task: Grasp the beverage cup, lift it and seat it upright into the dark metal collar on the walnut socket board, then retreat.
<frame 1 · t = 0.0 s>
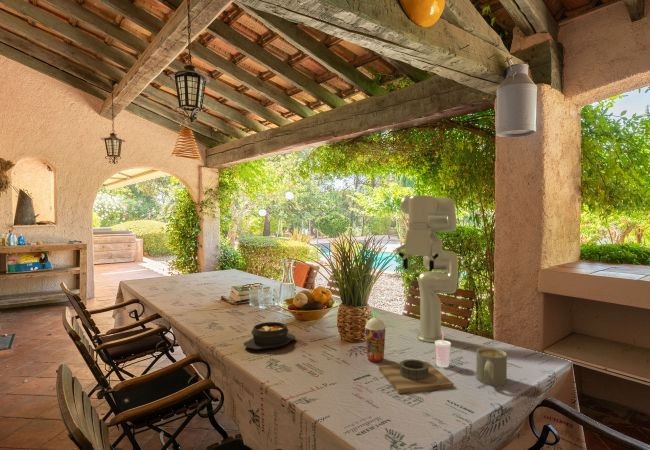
hand: (418, 270, 157), 37 cm above the table, tool pointing down, fingers open, 9 cm apart
smoothie: (375, 360, 162), on the table
coffee mug: (489, 381, 141), on the table
casserole: (270, 345, 181), on the table
socket board: (414, 378, 144), on the table
beverage cup: (442, 365, 156), on the table
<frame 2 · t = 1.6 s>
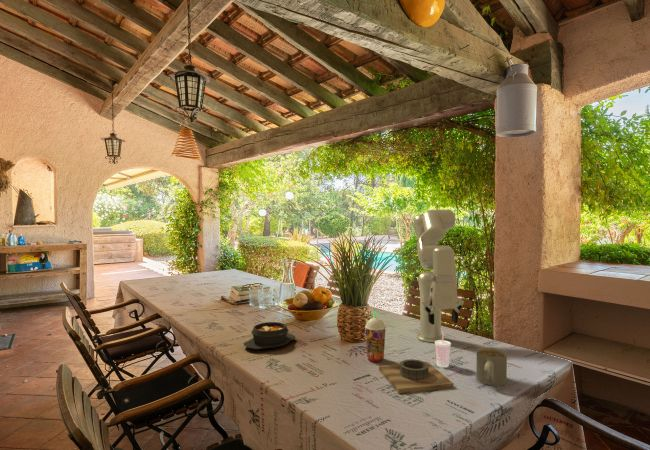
hand: (443, 322, 155), 17 cm above the table, tool pointing down, fingers open, 9 cm apart
nothing on the table moved.
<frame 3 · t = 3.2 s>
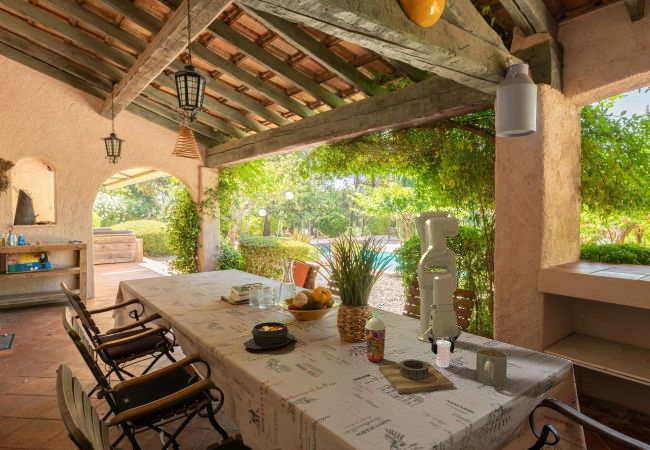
hand: (442, 352, 156), 5 cm above the table, tool pointing down, fingers closed on beverage cup, 6 cm apart
beverage cup: (442, 365, 156), on the table, touching gripper
everything else where it was.
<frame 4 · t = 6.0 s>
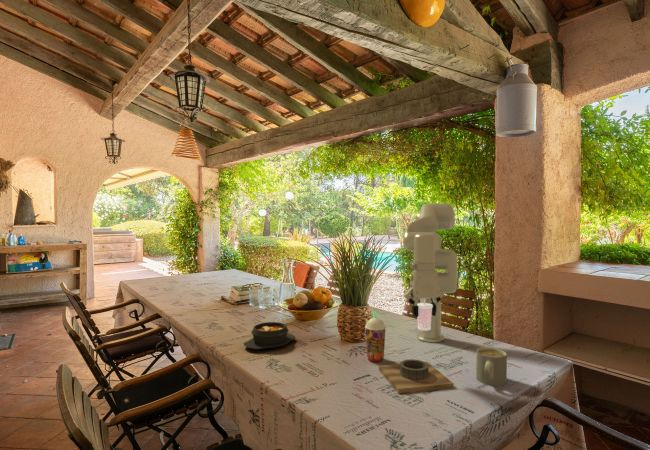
hand: (424, 315, 147), 22 cm above the table, tool pointing down, fingers closed on beverage cup, 6 cm apart
beverage cup: (424, 329, 147), point 17 cm above the table, touching gripper
everything else where it was.
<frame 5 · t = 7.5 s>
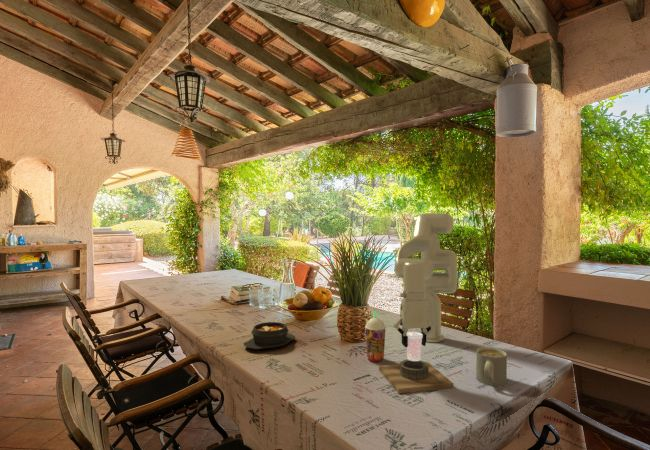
hand: (414, 344, 143), 12 cm above the table, tool pointing down, fingers closed on beverage cup, 6 cm apart
beverage cup: (414, 359, 143), point 7 cm above the table, touching gripper
everything else where it was.
when the fingers open (7 cm above the table, at t = 8.8 s): beverage cup stays where it is, resting on socket board.
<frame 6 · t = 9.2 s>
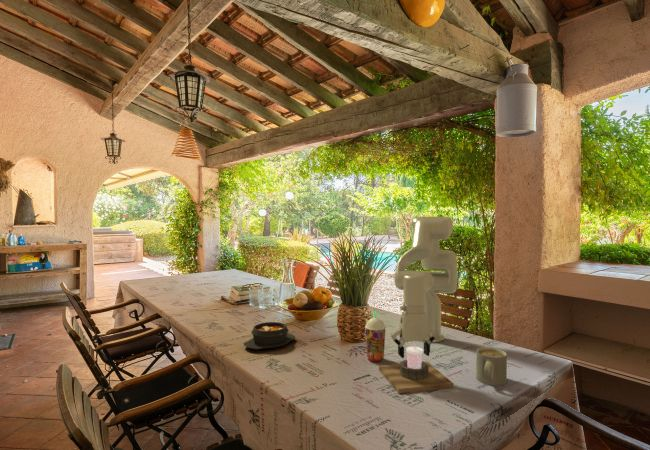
hand: (414, 355, 143), 8 cm above the table, tool pointing down, fingers open, 9 cm apart
beverage cup: (414, 374, 144), point 1 cm above the table, touching socket board
everything else where it was.
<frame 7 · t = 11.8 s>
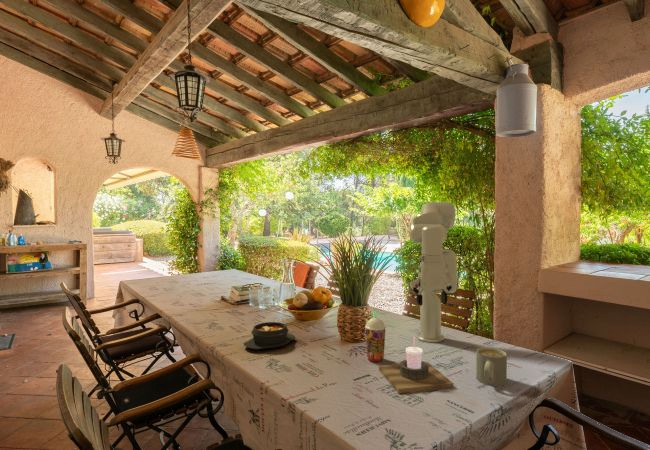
hand: (431, 303, 150), 25 cm above the table, tool pointing down, fingers open, 9 cm apart
nothing on the table moved.
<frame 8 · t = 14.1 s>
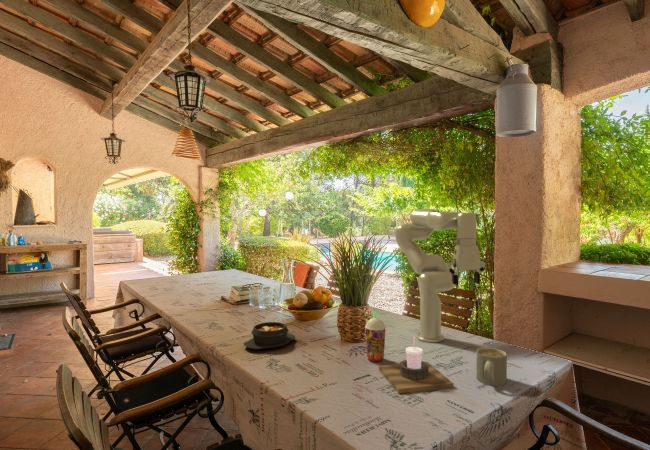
hand: (466, 283, 164), 30 cm above the table, tool pointing down, fingers open, 9 cm apart
nothing on the table moved.
at the end: beverage cup 0.1 cm off-centre on the socket board, point 1.3 cm above the socket board's base; beverage cup tilted 0°; the gripper is holding nothing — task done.
